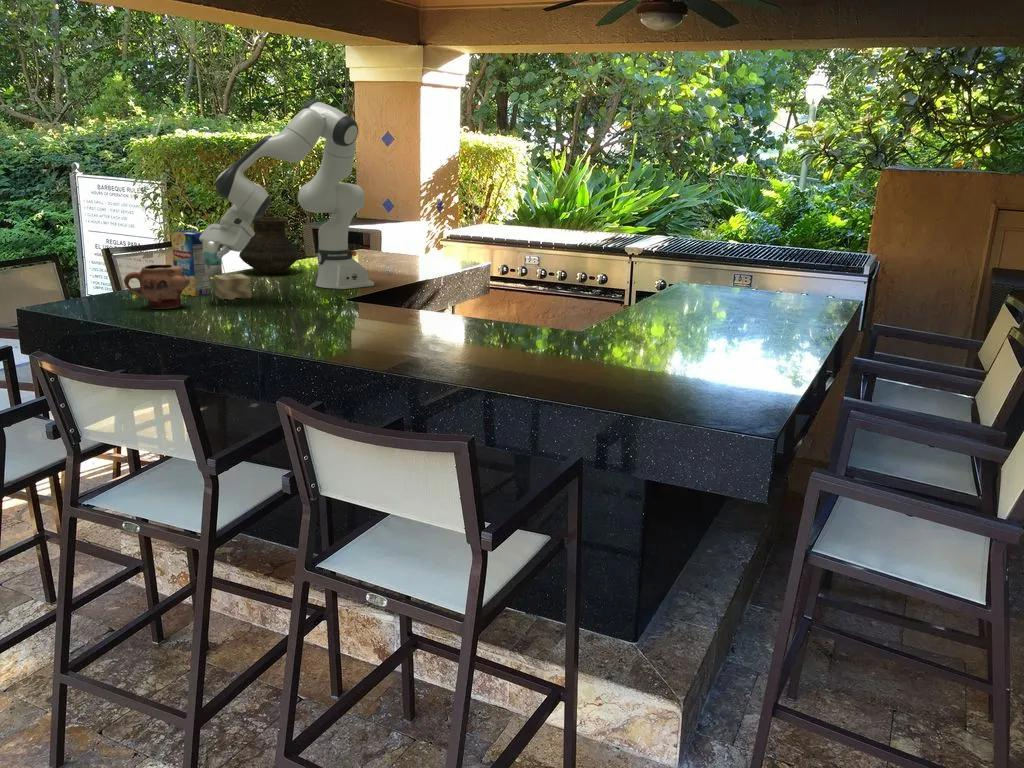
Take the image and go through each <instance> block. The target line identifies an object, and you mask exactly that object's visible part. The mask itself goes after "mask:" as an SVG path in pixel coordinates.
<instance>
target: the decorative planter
mask: <svg viewBox="0 0 1024 768" xmlns="http://www.w3.org/2000/svg"><path fill="white" fill-rule="evenodd" d="M132 279H136V280H138V282H139V289H133V288H132V287H131V286H130V284H129V283H130V281H131V280H132ZM123 283H124V285H125V287H126V288H127V289H128V290H129V291H131V292H132V293H134V294H135V295H138V296H140V297H141V298H143V299H144V298H147V299H148V302H147V303H148V306H149V308H150V309H154V310H155V309H156V310H161V309H175V308H179V307H181V305H182V303H181V295H182V294H181V293H182V291H183V289H184V288H186V287H187V286H188V285H189V284H190V279H189V278H188V277H187V276H186V275H185V274H184V271H183V269H182V268H181V267H178V266H174V265H172V264H149V265H145V266H143V267H142V268H141V270H140V271H133V272H129V273H127V274H126V275H125V277H124V278H123Z"/></svg>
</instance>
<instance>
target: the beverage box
mask: <svg viewBox="0 0 1024 768" xmlns="http://www.w3.org/2000/svg"><path fill="white" fill-rule="evenodd" d="M203 232H204V231H197V230H190V229H189V230H188V229H186V230H173V231H170V235H171V237H170V238H171V239H170V240H171V250H172V262H173V263H172V264H173V265H174V266H178V267H181V268H182V269H183V271H184V274H185V275H186V276H187V277H188V278H189V279H190V284H189V285H188V286H187V287H186V288H184V289H183V291H182V293H181V295H183V294H184V296H189V295H191V296H190V297H194V296H198V297H202V295H203V296H208V294H209V295H212V282H211V280H212V279H211V275H205V271H204V258H203V254H202V252H203V243H202V242H201V241H200V240H199V238H200V235H201V234H202V233H203Z"/></svg>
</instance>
